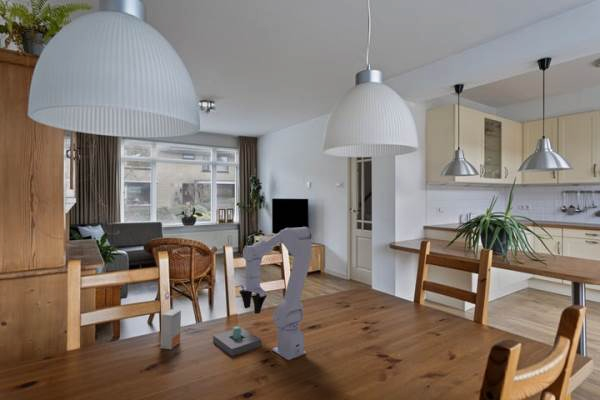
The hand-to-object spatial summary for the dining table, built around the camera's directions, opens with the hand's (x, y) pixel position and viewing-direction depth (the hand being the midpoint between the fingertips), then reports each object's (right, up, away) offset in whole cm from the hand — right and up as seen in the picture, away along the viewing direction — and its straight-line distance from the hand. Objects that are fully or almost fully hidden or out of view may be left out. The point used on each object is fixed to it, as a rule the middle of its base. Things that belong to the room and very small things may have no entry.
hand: (252, 310), depth 128 cm
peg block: (-4, -9, -9) cm, 14 cm away
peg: (-4, -9, -9) cm, 14 cm away
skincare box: (-28, -9, -11) cm, 31 cm away
